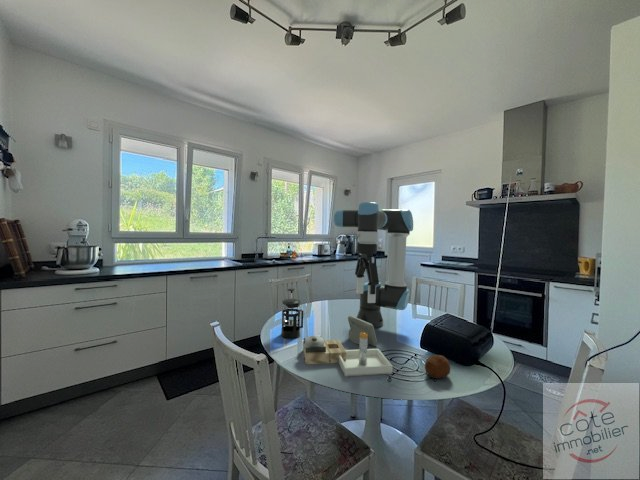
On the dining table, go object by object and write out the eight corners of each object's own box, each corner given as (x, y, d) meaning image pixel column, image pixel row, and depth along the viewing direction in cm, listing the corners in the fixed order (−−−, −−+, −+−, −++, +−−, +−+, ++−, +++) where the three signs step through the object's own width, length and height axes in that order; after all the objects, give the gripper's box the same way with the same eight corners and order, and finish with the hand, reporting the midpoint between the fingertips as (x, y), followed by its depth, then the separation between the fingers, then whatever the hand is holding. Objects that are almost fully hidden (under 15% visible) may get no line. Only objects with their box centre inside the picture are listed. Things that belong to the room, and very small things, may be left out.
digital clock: (379, 347, 120) (379, 323, 119) (362, 350, 116) (363, 326, 116) (359, 333, 135) (360, 313, 134) (344, 336, 131) (344, 315, 130)
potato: (418, 376, 96) (419, 356, 96) (431, 366, 104) (432, 347, 104) (442, 386, 90) (444, 365, 90) (454, 374, 98) (455, 355, 98)
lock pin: (365, 361, 105) (366, 331, 104) (367, 365, 102) (368, 334, 101) (357, 362, 104) (358, 332, 104) (360, 365, 101) (361, 335, 101)
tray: (377, 355, 111) (378, 348, 111) (392, 373, 98) (392, 365, 97) (336, 357, 108) (336, 350, 108) (345, 376, 95) (345, 368, 94)
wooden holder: (338, 348, 117) (339, 331, 116) (345, 362, 105) (346, 343, 105) (302, 350, 114) (303, 333, 114) (305, 364, 102) (306, 345, 102)
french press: (284, 340, 123) (285, 292, 122) (276, 333, 131) (277, 288, 130) (306, 336, 129) (307, 289, 128) (298, 329, 137) (299, 285, 136)
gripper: (348, 241, 113) (347, 290, 114) (368, 244, 88) (366, 307, 89) (365, 241, 114) (364, 290, 115) (390, 245, 89) (387, 307, 90)
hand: (365, 297), depth 102 cm, fingers open, 13 cm apart
